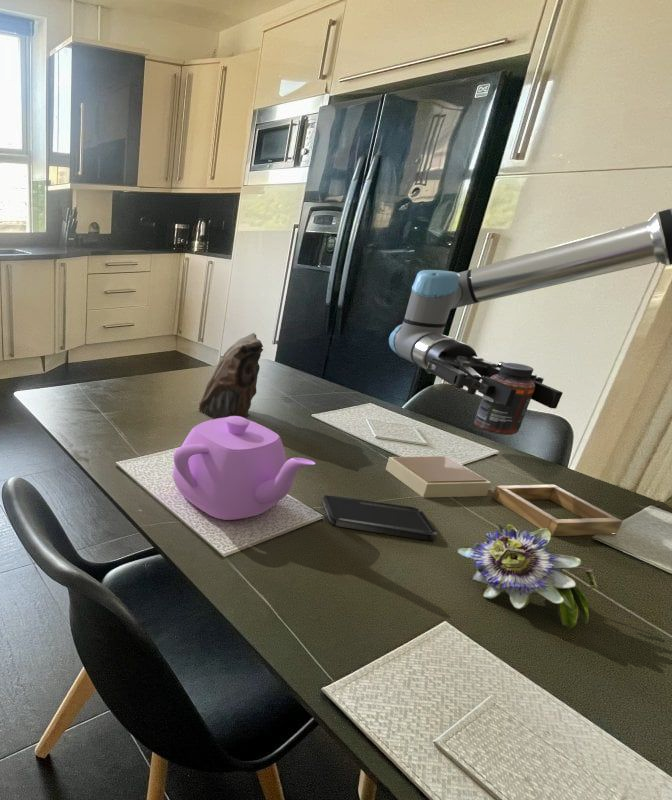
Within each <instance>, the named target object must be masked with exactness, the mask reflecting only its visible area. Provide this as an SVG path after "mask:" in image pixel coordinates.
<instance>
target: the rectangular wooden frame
mask: <svg viewBox="0 0 672 800" xmlns="http://www.w3.org/2000/svg"><path fill="white" fill-rule="evenodd" d="M491 499H493V500H494V501H496V502H497V503H499V504H501V505H502V506H504V507H505V508H507V509H509V510H510V511H511V512H514V513H515V514H517V515H518V516H520V517H521V518H523V519H524V520H526V521H528V522H529V523H531V524H532V525H534V526H536V527H537V528H538V529H543V528H548V529H549V531H550V532H551V537H566V536H567V537H570V536H571V537H572V536H573V537H574V536H601V535H600V534H605V535H613V534H612V533H618V532H619V529H620V528H621V526H622V524H623V520H622V519H620V518H618V517H616V516H614V515H612V514H610V513H608V512H607V511H605V510H603V509H601V508H599V507H597V506H595V505H593V504H592V503H590V502H588V501H586V500H584V499H582V498H580V497H578V496H577V495H574V494H573V493H571V492H569V491H568V490H565V489H564V488H561V487H560V486H558V485H556V484H553V483H552V484H513V485H496V486H495V488H494V490H493V493H492V495H491ZM531 500H532V501H533V500H535V501H536V500H549V501H551V502H552V503H555V504H557V505H558V506H560V507H562V508H564V509H565V510H567V511H568V512H571V513H572V514H574V515H576V516H577V517H579V518H561V519H559V518H557V517H556V516H555V517H554V515H552V514H550V513H549V512H546V511H545V510H543V509H541V508H540V507H538V506H536V505H535V504H533V503H532V502H530V501H531Z"/></svg>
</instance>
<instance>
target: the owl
mask: <svg viewBox="0 0 672 800" xmlns="http://www.w3.org/2000/svg"><path fill="white" fill-rule="evenodd" d="M263 347H264V345H263V344H262V341H261V340H260V339H258V338H257V334H256V333H255V332H251V333H249V334H248V335H246V336H244V337H242V338H240V339H238V340H237V341H236V342H234V343H233V344H232V345H231V346H230V347H229V348H228V349H226V351H225V352H224V353H223V355H222V357H221V359H220V360H219V361H218V363H217V364H216V368H215V369H214V371H213V374H212V376H211V378H210V379H209V380H208V382H207V384H206V387H205V391H204V393H203V394H202V395H203V396H202V398H201V400H200V401H199V403H198V405H199V407H198V409H199V410H200V411H202V412H203V413H202V412H201V413H202V414H204V413H205V414H204V415H206V414H207V415H208V416H207V415H206V416H207V417H209V416H210V418H212V417H213V418H212V419H218V418H225V417H230V416H240V417H243V418H246V419H248V417H250V414H249V410H250V409H251V406H252V400H253V398H254V397H255V396H256V394H257V383H258V375H259V371H260V368H261V367H260V364H259V360H260V359H261V355H262V352H263V351H264V348H263ZM200 411H199V412H200Z"/></svg>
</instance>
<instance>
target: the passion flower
mask: <svg viewBox="0 0 672 800" xmlns="http://www.w3.org/2000/svg"><path fill="white" fill-rule="evenodd" d="M496 525H497V527H498V529H499V530H498V529H495V530H494V532H493V531H489V532H486V533H485V534H484V536H485V538H486V540H485V541H484V542H475V543H474V545H473V546H460V547H457V548H456V552H457V554H458V555H460V556H461V557H463V558H467V559H469V560H472V562H473V565H474V567H475V568H476V571H475V572H474V573H473V575H472V579H471V580H472V581H473V582H476V583H478V584H483V585H484V586H485V587H486V588H485V589H484V591H483V594H482V596H483V598H485V599H487V600H494V599H497V598H499V597H500V596H501V595H503V594H504V593H505V594H507V595H508V596H509V597H508V598H509V602H510V604H511V605H512V606H513V608H515V610H522V609H524V608H526V607H528V605H529V604H530V602H531V600H532V598H533V597H535V596H537V595H538V596H540V597H542V598H543V599H545V600H547V601H549V602H550V603H552V604H555V605H556V609H557V612H558V616H559V619H560V624H561V625H562V626H564V627H565V628H567V629H573V628H574V627H575V626H576V625H577V624H578V619H579V611H580V613H581V615H582V617H583V623H584V624H585V625H587V624H589V619H590V614H589V613H590V609H589V601H588V600H587V599H588V598H587V597H586V596H585V595H584V594H583V592H581V590H580V589H579V587H577V586H576V585H577V584H576V583H577V582H575V580H574V579H573V578H571V576H569V575H568V574H566V573H564V572H563V569H578V570H585V571H584V573H585V574H586V575H587V577H588V579H589V581H590V582H589V588H591V589H597V588H598V585H597V581H596V577H595V576H594V572H593V569H592V568H588V567H581V564H582V560H581V558H578V557H576V556H572V555H568V554H564V553H557V552H553V551H547V550H549V549H550V547H547V546H548V545H549V543H550V541H551V537H552V536H551V532H550V531H549V529H548V528H543V529H540V528H538V529H536V530H534V531H529V530H523V531H522V530H521V529H519V530H517V528H516V527H515V526H514V525H512V524H509V523H508V524H506V525H505V528H504V526H503V524H502V523H501V522H497V524H496Z"/></svg>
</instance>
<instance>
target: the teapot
mask: <svg viewBox="0 0 672 800" xmlns="http://www.w3.org/2000/svg"><path fill="white" fill-rule="evenodd" d="M173 463H174V464H173V468H172V469H173V470H172V479H173V482H174V484H175V486H176V488H177V490H178V492H179V493H180V494H181V495H182V496H183V497H184V498H185V499H186V500H187V501H189V502H190V503H191V504H192V505H194V506H195V507H197V508H198V509H199V510H201V511H202V512H204V513H206V514H207V515H208V516H211V517H213V518H216V519H219V520H225V521H226V520H227V521H231V520H232V521H233V520H243V519H247V518H252V517H256V516H259V515H261V514H263V513H265V512H267V511H268V510H270V509H271V508H273V507H274V506H275V505H276V504H278V503H279V502H280V501H281V500H283V499H284V498H285V497H286V496H287V495H289V492H290V491H291V489H292V486H293V484H294V480H295V478H296V475H297V473H298V472H299V471H300V469H301V468H304V467H309V466H314V465H316V462H315V461H313V460H311V459H308V458H305V457H291V458H290V459H287V456H286V452H285V448H284V443H283V442H282V439H281V437H280V435H279V434H278V433H276V432H275V431H273V430H272V429H270V428H268V427H266V426H264V425H262V424H259V423H257V422H255V421H253V420H251V419H248V418H247V419H246V418H243V417H240V416H230V417H225V418H218V419H214V418H212V419H208V420H205V421H203V422H200V423H198V424H196V425H194V426H193V427H192V428H191V430H190V431H189V433H188V435H187V436H186V437H185V439H184V441H183V443H182V445H181V446H179V447H177V448H176V449H175V450H174V453H173Z"/></svg>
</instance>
